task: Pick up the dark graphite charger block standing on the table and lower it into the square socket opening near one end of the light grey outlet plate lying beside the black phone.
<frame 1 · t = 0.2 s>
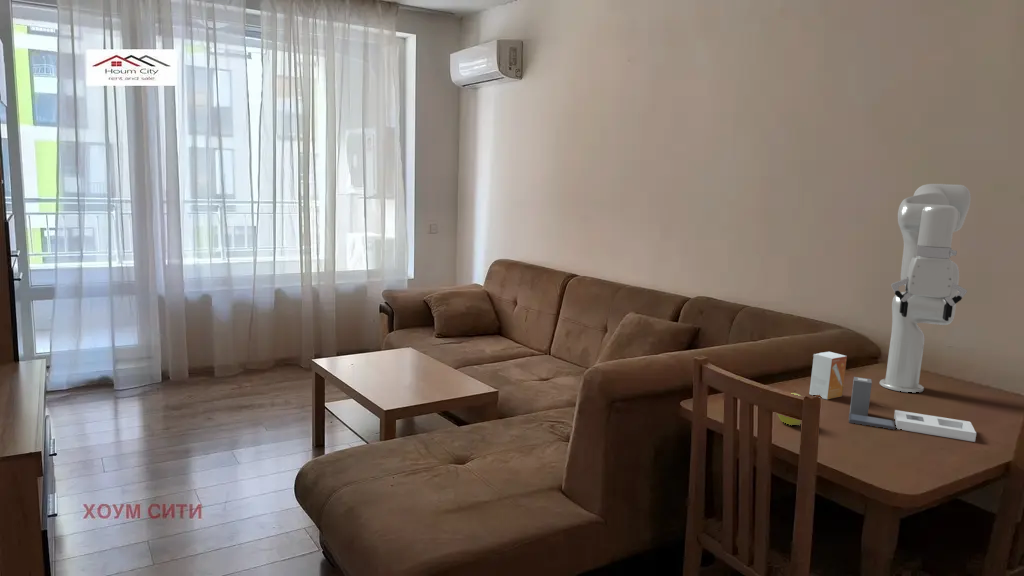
hand: (924, 318, 184), 31 cm above the table, tool pointing down, fingers open, 9 cm apart
phone: (871, 423, 192), on the table
small box: (825, 396, 216), on the table
apple: (789, 424, 189), on the table
outlet plate: (932, 429, 189), on the table
charger: (858, 413, 200), on the table
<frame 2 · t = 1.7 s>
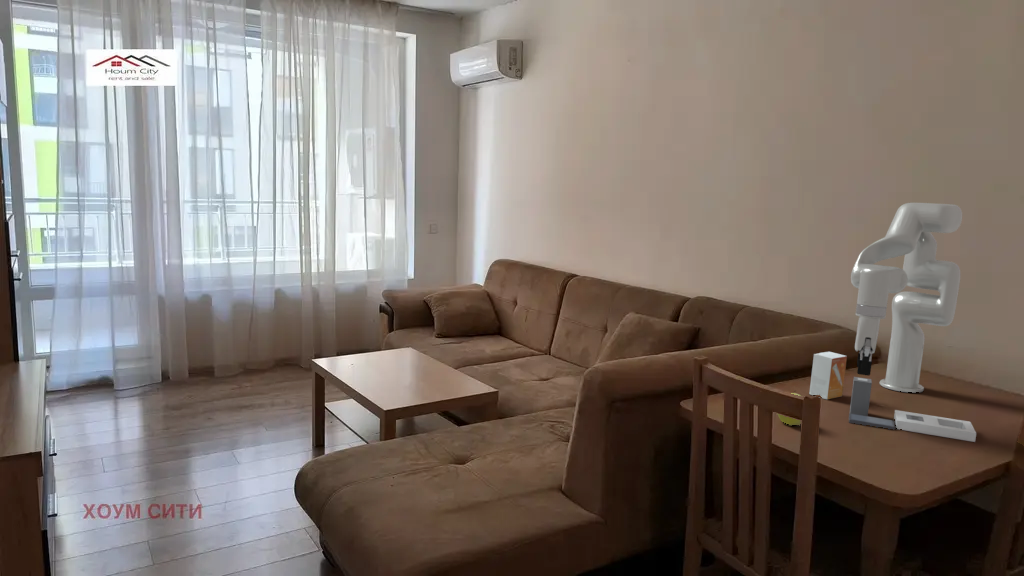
hand: (863, 370, 197), 13 cm above the table, tool pointing down, fingers open, 9 cm apart
nothing on the table moved.
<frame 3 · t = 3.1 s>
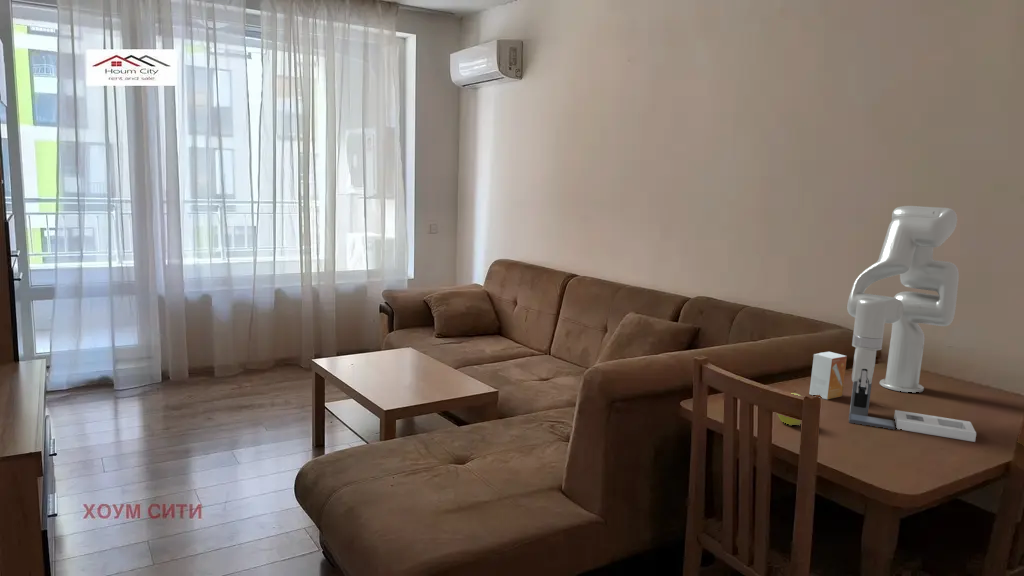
hand: (859, 403, 199), 3 cm above the table, tool pointing down, fingers closed on charger, 4 cm apart
charger: (858, 413, 200), on the table, touching gripper
everything else where it was.
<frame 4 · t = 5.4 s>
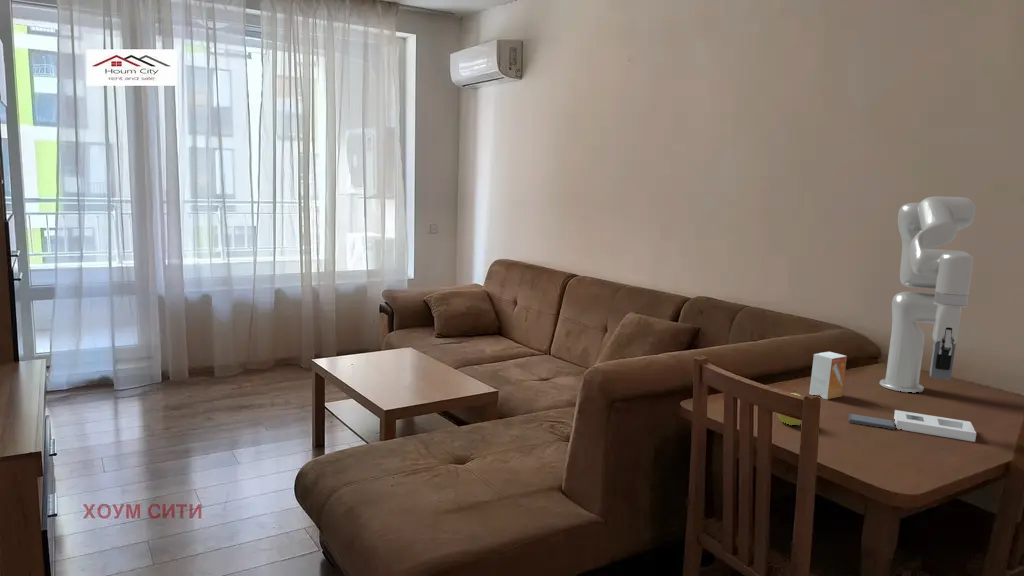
hand: (941, 366, 186), 17 cm above the table, tool pointing down, fingers closed on charger, 4 cm apart
charger: (939, 376, 187), point 15 cm above the table, touching gripper
everything else where it was.
when the fingers open (4 cm above the table, at t = 7.7 s): charger stays where it is, resting in outlet plate.
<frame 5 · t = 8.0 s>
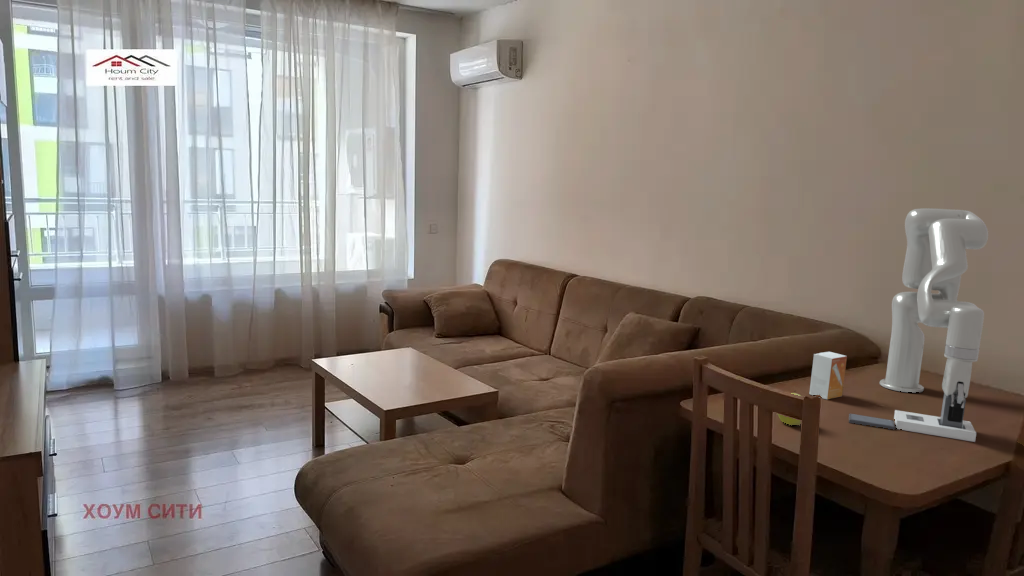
hand: (952, 416, 186), 4 cm above the table, tool pointing down, fingers open, 8 cm apart
charger: (949, 432, 187), resting in outlet plate
everything else where it was.
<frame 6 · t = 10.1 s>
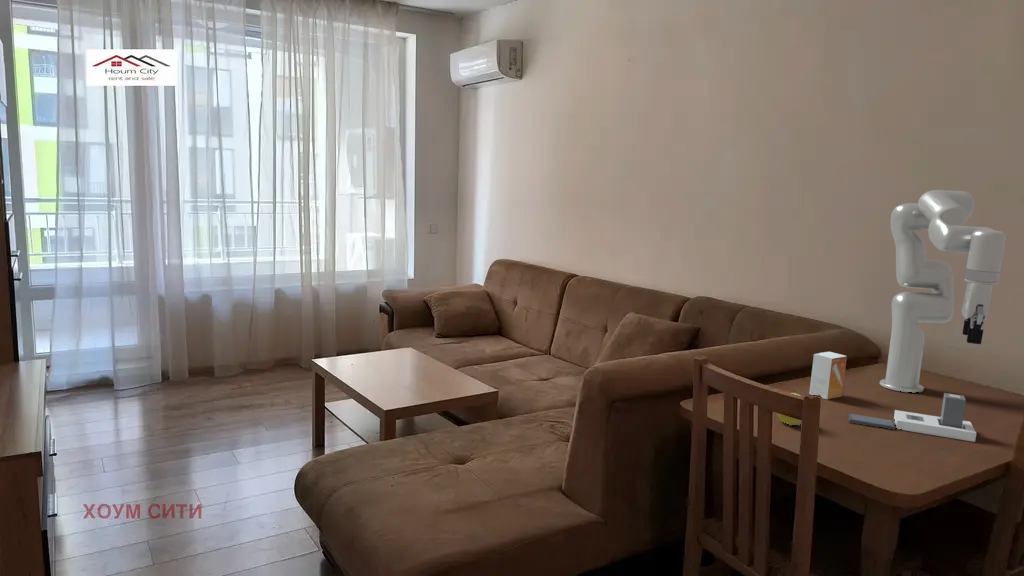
hand: (971, 339, 188), 25 cm above the table, tool pointing down, fingers open, 9 cm apart
nothing on the table moved.
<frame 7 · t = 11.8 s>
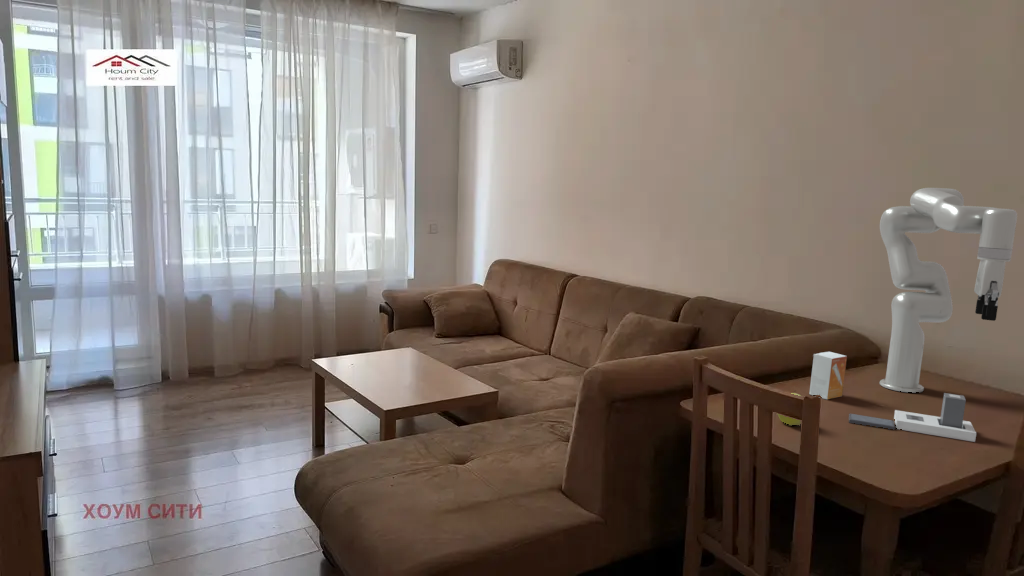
hand: (985, 317, 190), 30 cm above the table, tool pointing down, fingers open, 9 cm apart
nothing on the table moved.
at the end: charger 0.1 cm from the target spot on the outlet plate, point 0.0 cm above the outlet plate's base; charger tilted 0°; the gripper is holding nothing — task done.
